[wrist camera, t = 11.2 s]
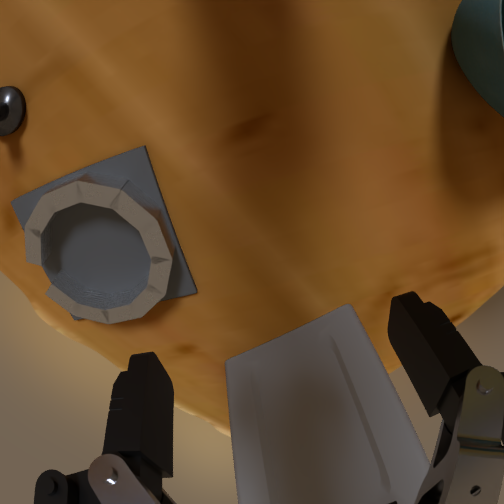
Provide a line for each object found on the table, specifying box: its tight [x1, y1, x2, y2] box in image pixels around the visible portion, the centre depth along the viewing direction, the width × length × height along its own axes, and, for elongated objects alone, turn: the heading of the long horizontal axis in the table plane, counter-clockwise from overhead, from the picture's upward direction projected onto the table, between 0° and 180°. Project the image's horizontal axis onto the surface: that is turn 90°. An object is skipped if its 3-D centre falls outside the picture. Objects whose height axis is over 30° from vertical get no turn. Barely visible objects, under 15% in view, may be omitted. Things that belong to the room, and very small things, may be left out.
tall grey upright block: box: [225, 304, 430, 504], centre depth 33 cm, size 19×15×28 cm
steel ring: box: [25, 171, 175, 324], centre depth 30 cm, size 16×16×3 cm
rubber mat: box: [11, 146, 197, 320], centre depth 32 cm, size 17×17×1 cm
